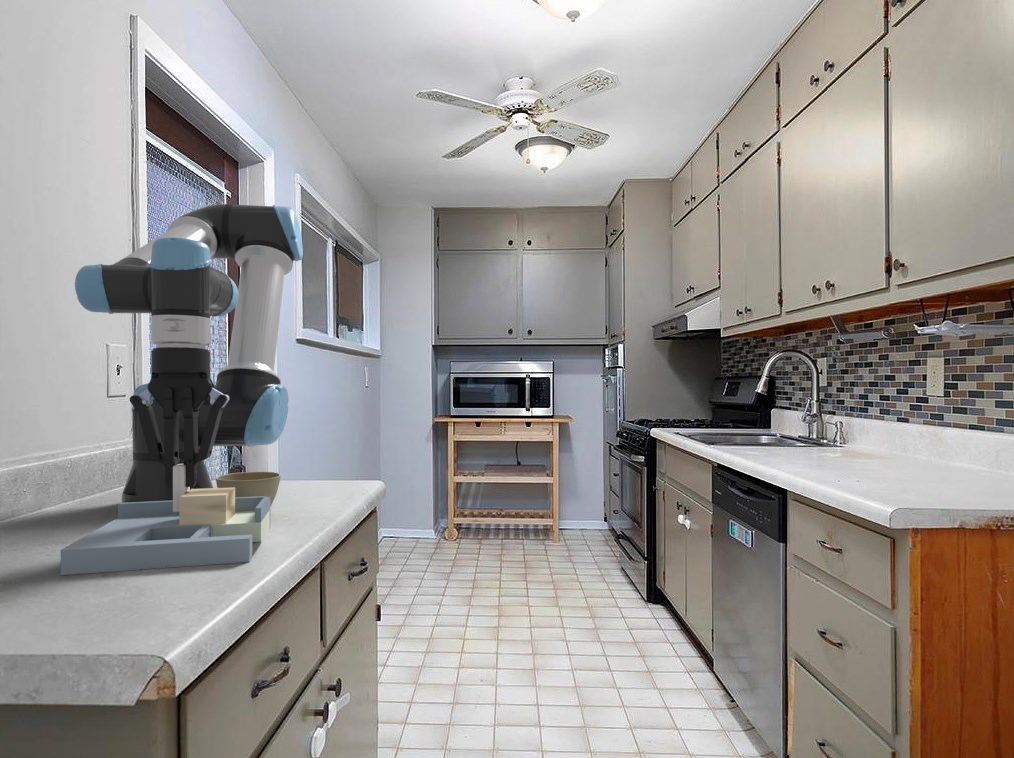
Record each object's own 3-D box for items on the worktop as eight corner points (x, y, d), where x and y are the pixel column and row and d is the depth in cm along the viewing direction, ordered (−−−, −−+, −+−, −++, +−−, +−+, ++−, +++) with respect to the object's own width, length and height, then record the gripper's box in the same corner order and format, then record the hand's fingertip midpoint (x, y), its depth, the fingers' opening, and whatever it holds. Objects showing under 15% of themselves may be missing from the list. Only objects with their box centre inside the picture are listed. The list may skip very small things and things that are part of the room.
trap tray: (120, 536, 88) (119, 502, 88) (270, 527, 93) (270, 495, 93) (60, 575, 71) (60, 533, 71) (249, 561, 76) (249, 522, 76)
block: (191, 515, 89) (191, 488, 89) (235, 513, 90) (235, 487, 90) (179, 525, 83) (179, 496, 83) (225, 523, 84) (225, 495, 84)
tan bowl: (257, 526, 94) (257, 481, 94) (202, 523, 96) (202, 479, 96) (292, 512, 104) (292, 471, 104) (241, 510, 106) (241, 470, 106)
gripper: (120, 345, 81) (120, 518, 81) (223, 346, 84) (223, 513, 84) (141, 348, 88) (141, 506, 88) (235, 348, 91) (235, 502, 91)
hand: (181, 509), depth 86 cm, fingers closed
